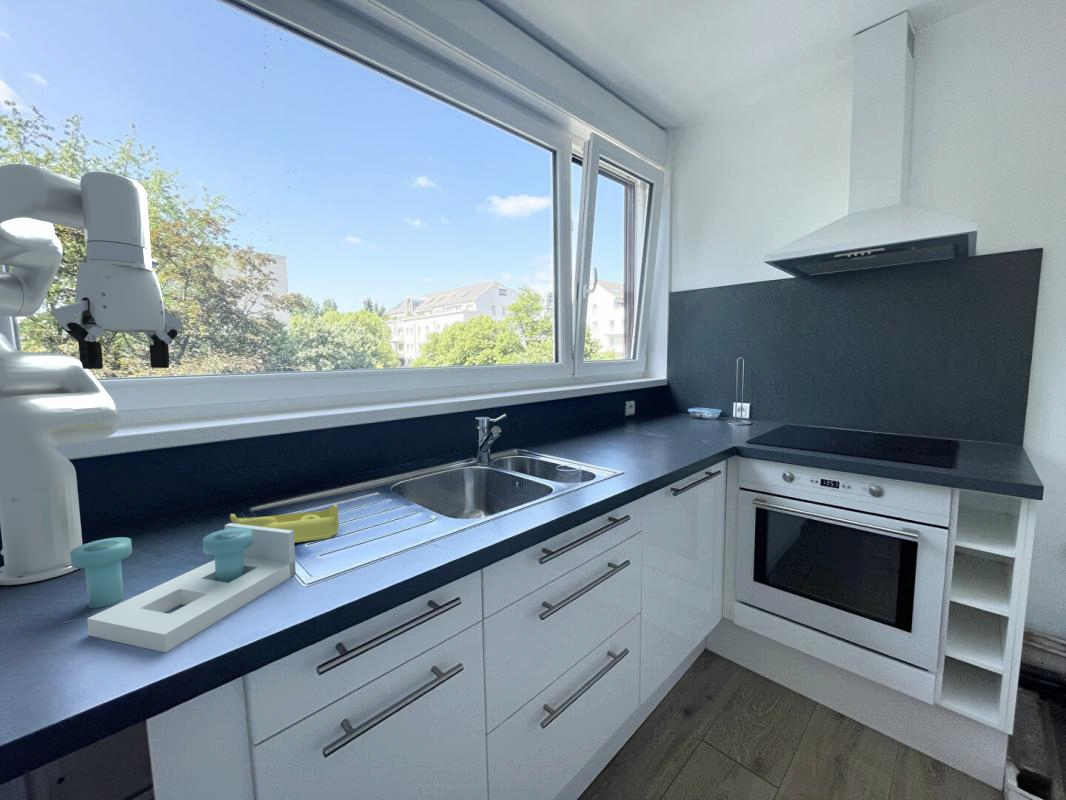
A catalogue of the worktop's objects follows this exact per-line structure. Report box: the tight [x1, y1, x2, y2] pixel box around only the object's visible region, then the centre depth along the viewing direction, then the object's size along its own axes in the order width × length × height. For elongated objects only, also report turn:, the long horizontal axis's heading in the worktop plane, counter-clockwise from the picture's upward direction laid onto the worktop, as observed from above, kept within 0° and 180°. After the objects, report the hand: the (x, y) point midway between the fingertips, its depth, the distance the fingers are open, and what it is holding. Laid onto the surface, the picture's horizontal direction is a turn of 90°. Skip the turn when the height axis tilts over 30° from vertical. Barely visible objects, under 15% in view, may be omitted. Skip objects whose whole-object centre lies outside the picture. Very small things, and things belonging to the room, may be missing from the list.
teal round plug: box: [70, 536, 133, 609], centre depth 69 cm, size 7×7×9 cm
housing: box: [86, 522, 297, 654], centre depth 70 cm, size 14×22×8 cm, turn 166°
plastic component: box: [229, 503, 340, 544], centre depth 95 cm, size 20×7×10 cm
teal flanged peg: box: [202, 527, 253, 583], centre depth 74 cm, size 7×7×9 cm
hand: (128, 368), depth 71 cm, fingers open, 9 cm apart
